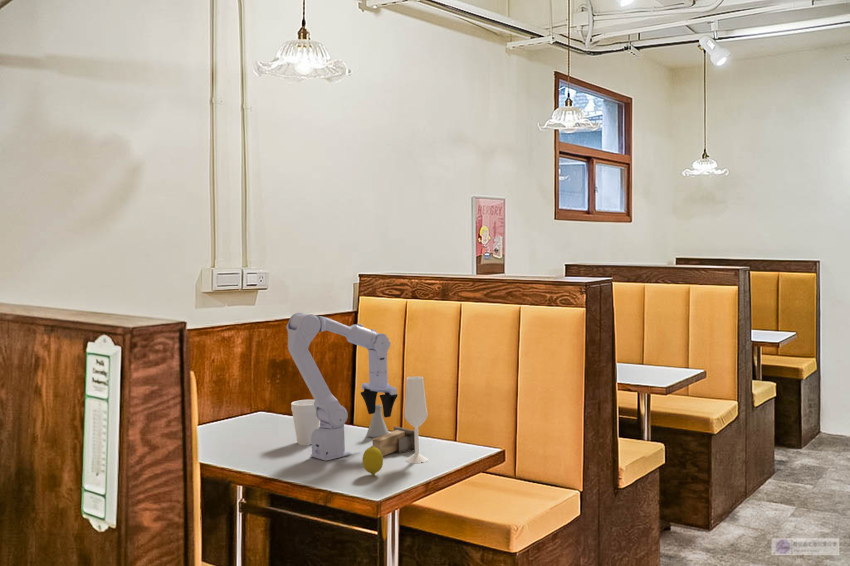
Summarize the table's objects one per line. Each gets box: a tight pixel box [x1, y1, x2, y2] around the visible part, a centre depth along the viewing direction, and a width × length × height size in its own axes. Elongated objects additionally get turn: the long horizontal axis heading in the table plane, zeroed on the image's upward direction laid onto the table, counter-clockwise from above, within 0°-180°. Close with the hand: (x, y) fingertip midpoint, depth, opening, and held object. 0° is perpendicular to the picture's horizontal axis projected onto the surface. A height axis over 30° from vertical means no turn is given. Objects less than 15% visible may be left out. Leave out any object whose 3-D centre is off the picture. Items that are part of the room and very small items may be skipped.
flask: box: [366, 404, 390, 438], centre depth 256 cm, size 7×7×10 cm
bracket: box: [393, 426, 415, 454], centre depth 237 cm, size 6×10×6 cm, turn 43°
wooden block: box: [371, 430, 405, 457], centre depth 234 cm, size 10×4×5 cm, turn 133°
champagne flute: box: [403, 375, 429, 464], centre depth 224 cm, size 7×7×24 cm
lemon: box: [362, 445, 384, 476], centre depth 211 cm, size 6×6×8 cm
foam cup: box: [290, 399, 320, 446], centre depth 249 cm, size 10×9×13 cm
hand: (379, 415), depth 241 cm, fingers open, 7 cm apart
